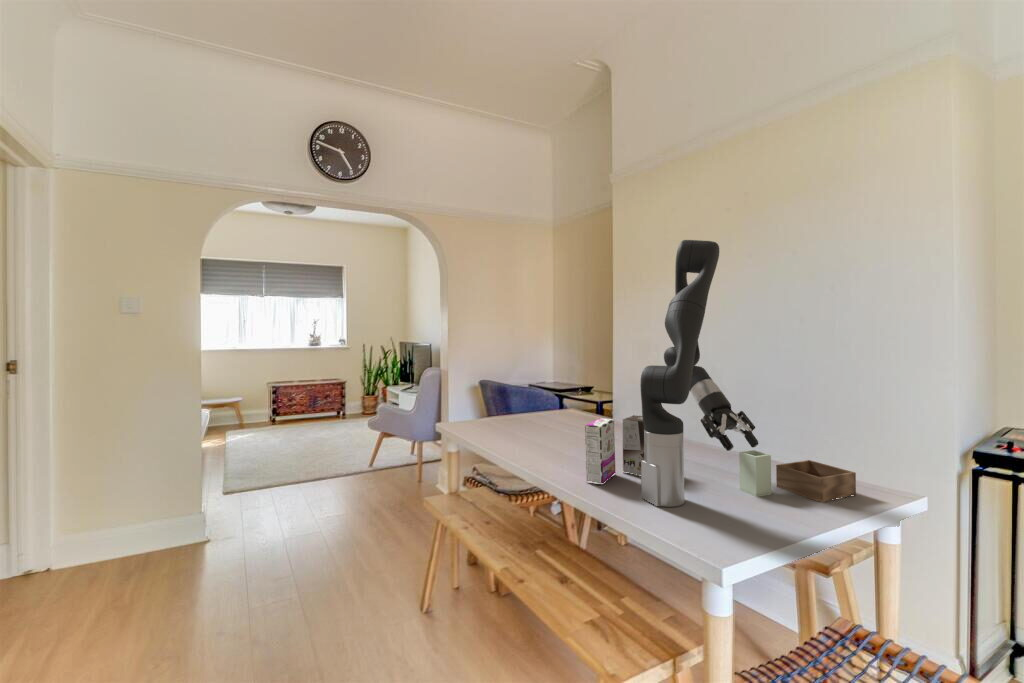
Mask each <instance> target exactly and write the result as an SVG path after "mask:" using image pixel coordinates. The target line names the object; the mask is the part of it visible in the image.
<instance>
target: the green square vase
mask: <svg viewBox="0 0 1024 683" xmlns="http://www.w3.org/2000/svg"><path fill="white" fill-rule="evenodd" d="M740 490H741V491H740ZM739 491H740V492H743V493H745V492H746V493H745V494H748V495H751V496H753V497H756V498H758V497H765V496H768V495H772V454H769V453H765V452H761V451H757V450H747V451H745V450H744V451H739Z"/></svg>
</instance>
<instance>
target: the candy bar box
mask: <svg viewBox="0 0 1024 683" xmlns="http://www.w3.org/2000/svg"><path fill="white" fill-rule="evenodd" d="M584 428H585V429H584V430H585V431H584V432H585V455H586V456H585V460H586V461H585V464H586V482H587V481H592V482H597V483H604V482H605V481H606V480H607V479H609V478H610V477H611V476H612V475H613V474H614V473H616V450H615V449H616V446H615V442H616V441H615V440H616V439H615V419H613V418H605V417H604V418H603V417H602V418H600V417H599V418H597V419H595V420H593V421H591V422H589V423H587V424H585V425H584ZM609 480H610V479H609Z"/></svg>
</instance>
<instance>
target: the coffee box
mask: <svg viewBox="0 0 1024 683" xmlns="http://www.w3.org/2000/svg"><path fill="white" fill-rule="evenodd" d="M642 460H644V422H643V418H642V415H634V414H633V415H631V416H629V417H625V418H623V419H622V472H623V471H624V472H629V473H633V474H637V475H641V461H642ZM637 475H636V476H637Z"/></svg>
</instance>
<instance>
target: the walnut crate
mask: <svg viewBox="0 0 1024 683" xmlns="http://www.w3.org/2000/svg"><path fill="white" fill-rule="evenodd" d="M775 476H776V488H778V489H782V490H785V491H787V490H788V492H790V491H791V492H790V493H792V494H793V493H794V494H797V495H799V496H801V495H802V497H803V498H807V499H811V500H813V501H816V502H818V501H820V502H819V503H821V502H822V503H825V502H824V501H827V502H829V501H828V500H832V499H836V498H841V497H847V496H851V495H856V494H857V477H856V476H857V473H856V472H854V471H851V470H847V469H844V468H841V467H836V466H832V465H829V464H825V463H822V462H817V461H813V460H810V459H806V460H800V461H794V462H787V463H780V464H776V474H775ZM856 496H857V495H856ZM847 498H848V497H847ZM832 501H833V500H832Z"/></svg>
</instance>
